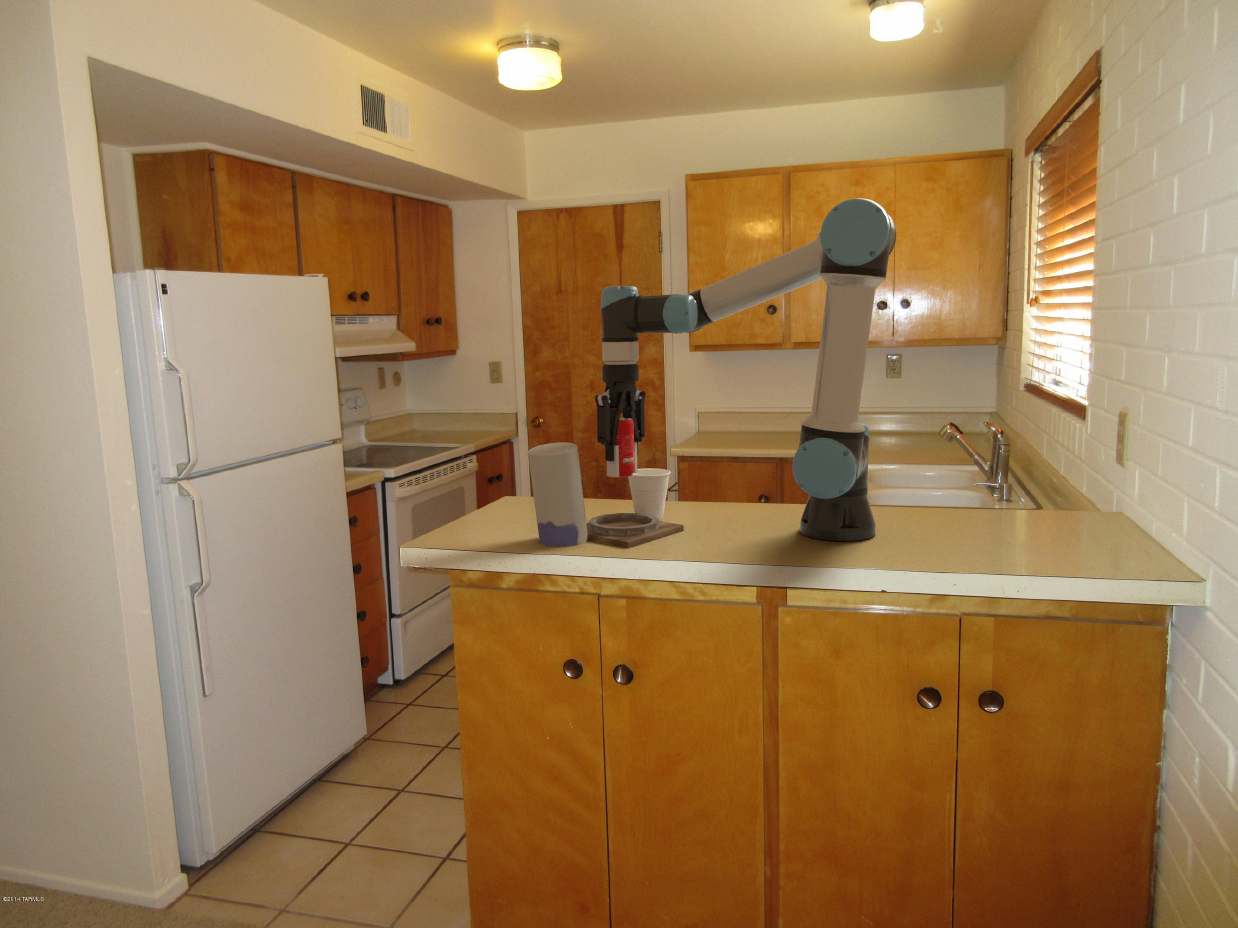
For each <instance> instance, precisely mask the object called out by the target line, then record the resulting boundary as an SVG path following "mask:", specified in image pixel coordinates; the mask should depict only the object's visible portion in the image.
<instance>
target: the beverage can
mask: <svg viewBox="0 0 1238 928" xmlns="http://www.w3.org/2000/svg"><path fill="white" fill-rule="evenodd" d="M610 439H611V438H610ZM615 445H617V446H619V477H618V478H628V477H629V476H632V475H633V472H634V422H633V420H632V418H627V417H623V416H620V419H619V426H618V432H617V439H616V444H615Z"/></svg>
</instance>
